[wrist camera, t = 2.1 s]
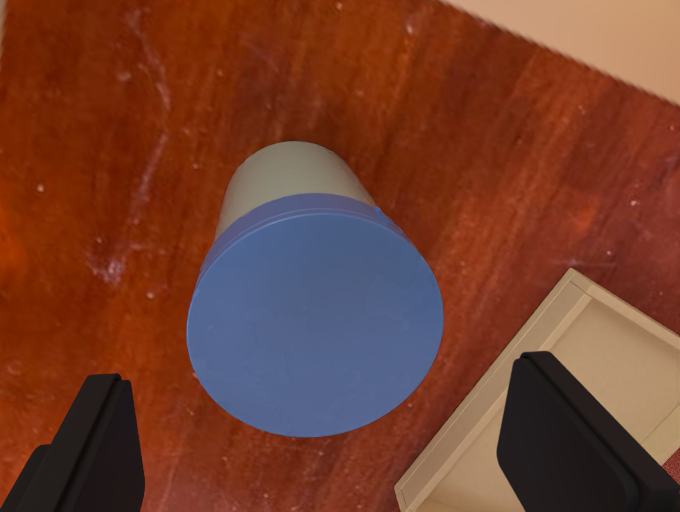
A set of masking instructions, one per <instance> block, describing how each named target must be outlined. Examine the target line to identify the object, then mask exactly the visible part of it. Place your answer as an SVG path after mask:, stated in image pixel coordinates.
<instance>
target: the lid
mask: <svg viewBox="0 0 680 512" xmlns="http://www.w3.org/2000/svg"><path fill="white" fill-rule="evenodd" d="M443 322H444V312H443V301H442V297H441V293H440V289H439V286H438V283H437V281H436V278H435V276H434V274H433V272H432V270H431V269H430V267H429V265H428V264H427V262H426V261H425V259H424V258H423V257H422V255H421V254H420V253H419V251H418V250H417V249H416V247H415V246H414V245H413V243H412V242H411V241H410V239H409V238H408V237H407V236H406V234H405V233H404V232H403V231H402V230H401V228H400V227H399V226H398V225H397V224H396V223H395V222H393V221H392V220H391V219H390V218H389V217H388V216H386V215H385V214H384V213H383V212H382V211H381V209H380V208H379V207H377V206H376V207H375V208H374V207H372V206H370V205H368V204H366V203H364V202H362V201H359V200H356V199H353V198H350V197H346V196H341V195H336V194H328V193H304V194H296V195H291V196H285V197H281V198H278V199H275V200H272V201H269V202H266V203H264V204H262V205H260V206H258V207H256V208H254V209H252V210H250V211H249V212H247V213H246V214H244V215H243V216H241V217H240V218H238V219H237V220H236V221H235V222H234V223H232V224H231V225H230V226H229V227H228V228H227V229H226V230H225V231H224V232H223V233H222V234H221V235H220V236H219V238H218V239H217V240H216V241H215V243H214V244H213V246H212V247H211V249H210V250H209V252H208V253H207V255H206V258H205V260H204V262H203V264H202V266H201V269H200V272H199V276H198V279H197V282H196V286H195V290H194V293H193V297H192V300H191V304H190V308H189V311H188V319H187V326H186V332H187V346H188V352H189V357H190V360H191V363H192V366H193V369H194V371H195V373H196V375H197V377H198V379H199V381H200V383H201V384H202V386H203V387H204V388H205V390H206V391H207V393H208V394H209V395H210V396H211V397H212V398H213V399H214V400H215V402H216V403H217V404H218V405H219V406H220V407H222V408H223V409H224V410H226V411H227V412H228V413H229V414H231V415H232V416H234V417H235V418H237V419H239V420H240V421H242V422H244V423H246V424H248V425H250V426H253V427H255V428H257V429H260V430H263V431H267V432H270V433H274V434H279V435H284V436H292V437H321V436H329V435H335V434H339V433H344V432H348V431H351V430H354V429H357V428H360V427H362V426H365V425H367V424H369V423H371V422H373V421H376V420H377V419H379V418H381V417H382V416H384V415H386V414H387V413H389V412H390V411H392V410H393V409H394V408H396V407H397V406H398V405H400V404H401V403H402V402H403V401H404V400H405V399H406V398H407V397H409V396H410V395H411V394H412V393H413V391H414V390H415V389H416V388H417V387H418V386H419V384H420V383H421V382H422V380H423V379H424V377H425V376H426V374H427V373H428V371H429V370H430V368H431V366H432V364H433V362H434V360H435V358H436V355H437V352H438V349H439V346H440V343H441V338H442V333H443Z"/></svg>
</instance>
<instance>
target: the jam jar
mask: <svg viewBox="0 0 680 512" xmlns="http://www.w3.org/2000/svg"><path fill="white" fill-rule="evenodd" d="M304 193H328V194H336V195H341V196H346V197H350V198H353V199H356V200H359V201H362V202H364V203H366V204H368V205H370V206H372V207H374V208H375V207H376V206H377V207H378V205H377V204H376V203H375V201H374V200H373V198H372V197H371V196H370V194H369V193H368V191H367V190H366V189H365V187H364V186H363V184H362V183H361V182H360V180H359V179H358V177H357V176H356V175H355V173H354V172H353V170H352V169H351V168H350V167H349V166H348V164H347V163H346V162H345V161H344V160H343V159H341V158H340V157H339V156H338V155H336V154H335V153H333V152H332V151H330V150H328V149H326V148H324V147H322V146H319V145H316V144H312V143H308V142H299V141H290V142H282V143H276V144H273V145H270V146H267V147H265V148H263V149H261V150H259V151H257V152H256V153H254V154H253V155H251V156H250V157H249V158H248V159H246V160H245V161H244V162H243V163H242V164H241V165H240V167H239V168H238V169H237V170H236V172H235V173H234V175H233V176H232V178H231V180H230V182H229V184H228V187H227V190H226V193H225V197H224V201H223V205H222V209H221V213H220V217H219V221H218V225H217V229H216V233H215V237H214V241H213V244H214V243H215V241H216V240H217V239H218V238H219V236H220V235H221V234H222V233H223V232H224V231H225V230H226V229H227V228H228V227H229V226H230V225H231V224H232V223H234V222H235V221H236V220H237V219H238V218H240V217H241V216H243V215H244V214H246V213H247V212H249V211H250V210H252V209H254V208H256V207H258V206H260V205H262V204H264V203H266V202H269V201H272V200H275V199H278V198H281V197H285V196H291V195H296V194H304ZM212 246H213V245H212Z"/></svg>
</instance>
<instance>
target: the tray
mask: <svg viewBox="0 0 680 512" xmlns="http://www.w3.org/2000/svg"><path fill="white" fill-rule="evenodd" d="M532 351H549V352H551V353H552V354H553V355H554V356H555V357H556V358H557V359H558V360H559V361H560V362H561V363H562V364H563V365H564V366H565V367H566V368H567V369H568V370H569V371H570V372H571V373H572V375H573V376H574V377H575V378H576V379H577V380H578V381H579V382H580V383H581V384H582V385H583V386H584V387H585V388H586V389H587V390H588V391H589V392H590V393H591V394H592V395H593V396H594V397H595V398H596V399H597V400H598V401H599V402H600V403H601V405H602V406H603V407H604V408H605V409H606V410H607V411H608V412H609V413H610V414H611V415H612V416H613V417H614V418H615V419H616V420H617V421H618V422H619V423H620V424H621V425H622V426H623V427H624V428H625V429H626V430H627V431H628V432H629V433H630V435H631V436H632V437H633V438H634V439H635V440H636V441H637V442H638V443H639V444H640V445H641V446H642V447H643V448H644V449H645V450H646V451H647V452H648V453H649V454H650V455H651V456H652V457H653V458H654V459H655V460H656V461H657V462H658V464H659V465H660V466H661V465H662V464H663V463H664V462H665V461H666V460H667V459H668V458H669V457H670V456H671V455H672V454H673V453H674V452H675V451H676V450H677V449H678V448H679V447H680V336H679V335H678V334H676V333H674V332H673V331H671V330H670V329H668V328H666V327H665V326H663V325H662V324H660V323H659V322H657V321H655V320H654V319H652V318H651V317H649V316H647V315H646V314H644V313H643V312H641V311H639V310H638V309H636V308H635V307H633V306H632V305H630V304H628V303H627V302H625V301H624V300H622V299H620V298H619V297H617V296H616V295H614V294H613V293H611V292H609V291H608V290H606V289H605V288H603V287H601V286H600V285H598V284H597V283H595V282H593V281H592V280H590V279H589V278H587V277H586V276H584V275H582V274H581V273H579V272H578V271H576V270H574V269H573V268H569V269H568V271H567V272H566V273H565V274H564V276H563V277H562V278H561V279H560V281H559V282H558V283H557V284H556V286H555V287H554V288H553V289H552V291H551V292H550V293H549V294H548V296H547V297H546V298H545V299H544V301H543V302H542V303H541V304H540V306H539V307H538V308H537V309H536V311H535V312H534V313H533V314H532V316H531V317H530V318H529V319H528V321H527V322H526V323H525V324H524V326H523V327H522V328H521V329H520V330H519V332H518V333H517V334H516V335H515V337H514V338H513V339H512V340H511V342H510V343H509V344H508V345H507V347H506V348H505V349H504V350H503V352H502V353H501V354H500V355H499V357H498V358H497V359H496V360H495V362H494V363H493V364H492V365H491V367H490V368H489V369H488V370H487V372H486V373H485V374H484V375H483V377H482V378H481V379H480V380H479V382H478V383H477V384H476V385H475V386H474V388H473V389H472V390H471V391H470V393H469V394H468V395H467V396H466V398H465V399H464V400H463V401H462V403H461V404H460V405H459V406H458V408H457V409H456V410H455V411H454V413H453V414H452V415H451V416H450V418H449V419H448V420H447V421H446V423H445V424H444V425H443V426H442V428H441V429H440V430H439V431H438V433H437V434H436V435H435V436H434V438H433V439H432V440H431V441H430V443H429V444H428V445H427V446H426V447H425V449H424V450H423V451H422V452H421V454H420V455H419V456H418V457H417V459H416V460H415V461H414V462H413V464H412V465H411V466H410V467H409V469H408V470H407V471H406V472H405V474H404V475H403V476H402V477H401V479H400V480H399V481H398V482H397V484H396V485H395V486H394V490H395V493H396V497H397V500H398V504H399V507H400V510H401V512H525V510H524V508H523V507H522V505H521V503H520V501H519V500H518V498H517V496H516V494H515V493H514V491H513V489H512V487H511V486H510V484H509V482H508V480H507V479H506V477H505V475H504V474H503V472H502V470H501V468H500V466H499V464H498V461H497V456H496V450H497V444H498V439H499V433H500V428H501V423H502V418H503V413H504V407H505V402H506V397H507V392H508V387H509V381H510V376H511V371H512V366H513V362H514V360H515V359H519V358H520V355H521V354H522V353H523V352H532Z"/></svg>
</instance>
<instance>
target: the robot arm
mask: <svg viewBox="0 0 680 512" xmlns="http://www.w3.org/2000/svg"><path fill="white" fill-rule="evenodd" d="M496 456H497V461H498V464H499V466H500V468H501V470H502V472H503V474H504V475H505V477H506V479H507V480H508V482H509V484H510V486H511V487H512V489H513V491H514V493H515V494H516V496H517V498H518V500H519V501H520V503H521V505H522V507H523V508H524V510H525V512H680V493H679V491H680V485H679V484H678V483H677V482H676V481H675V480H674V479H673V478H672V477H671V476H670V475H669V474H668V473H667V472H666V471H665V470H664V469H663V468H662V467H661V466H660V465H659V464H658V462H657V461H656V460H655V459H654V458H653V457H652V456H651V455H650V454H649V453H648V452H647V451H646V450H645V449H644V448H643V447H642V446H641V445H640V444H639V443H638V442H637V441H636V440H635V439H634V438H633V437H632V436H631V435H630V433H629V432H628V431H627V430H626V429H625V428H624V427H623V426H622V425H621V424H620V423H619V422H618V421H617V420H616V419H615V418H614V417H613V416H612V415H611V414H610V413H609V412H608V411H607V410H606V409H605V408H604V407H603V406H602V405H601V403H600V402H599V401H598V400H597V399H596V398H595V397H594V396H593V395H592V394H591V393H590V392H589V391H588V390H587V389H586V388H585V387H584V386H583V385H582V384H581V383H580V382H579V381H578V380H577V379H576V378H575V377H574V376H573V375H572V373H571V372H570V371H569V370H568V369H567V368H566V367H565V366H564V365H563V364H562V363H561V362H560V361H559V360H558V359H557V358H556V357H555V356H554V355H553V354H552V353H551V352H549V351H532V352H523V353H522V354H521V355H520V358H519V359H515V360H514V362H513V366H512V371H511V376H510V381H509V387H508V392H507V397H506V402H505V407H504V413H503V418H502V423H501V428H500V433H499V439H498V444H497V450H496ZM144 491H145V477H144V470H143V463H142V456H141V449H140V442H139V435H138V428H137V422H136V415H135V408H134V401H133V394H132V387H131V383H130V381H129V380H122V379H121V376H120V374H118V373H116V374H97V375H89V376H88V377H87V378H86V380H85V382H84V383H83V385H82V387H81V389H80V391H79V393H78V395H77V396H76V398H75V400H74V402H73V404H72V406H71V408H70V409H69V411H68V413H67V415H66V417H65V419H64V421H63V422H62V424H61V426H60V428H59V430H58V432H57V434H56V435H55V437H54V439H53V441H52V443H51V444H48V445H40V446H39V447H37V448H36V449H35V450H34V452H33V453H32V454H31V456H30V458H29V460H28V461H27V463H26V465H25V467H24V468H23V470H22V472H21V474H20V475H19V477H18V479H17V481H16V482H15V484H14V486H13V488H12V489H11V491H10V493H9V494H8V496H7V498H6V500H5V501H4V503H3V505H2V507H1V508H0V512H140V509H141V505H142V501H143V497H144Z"/></svg>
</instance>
